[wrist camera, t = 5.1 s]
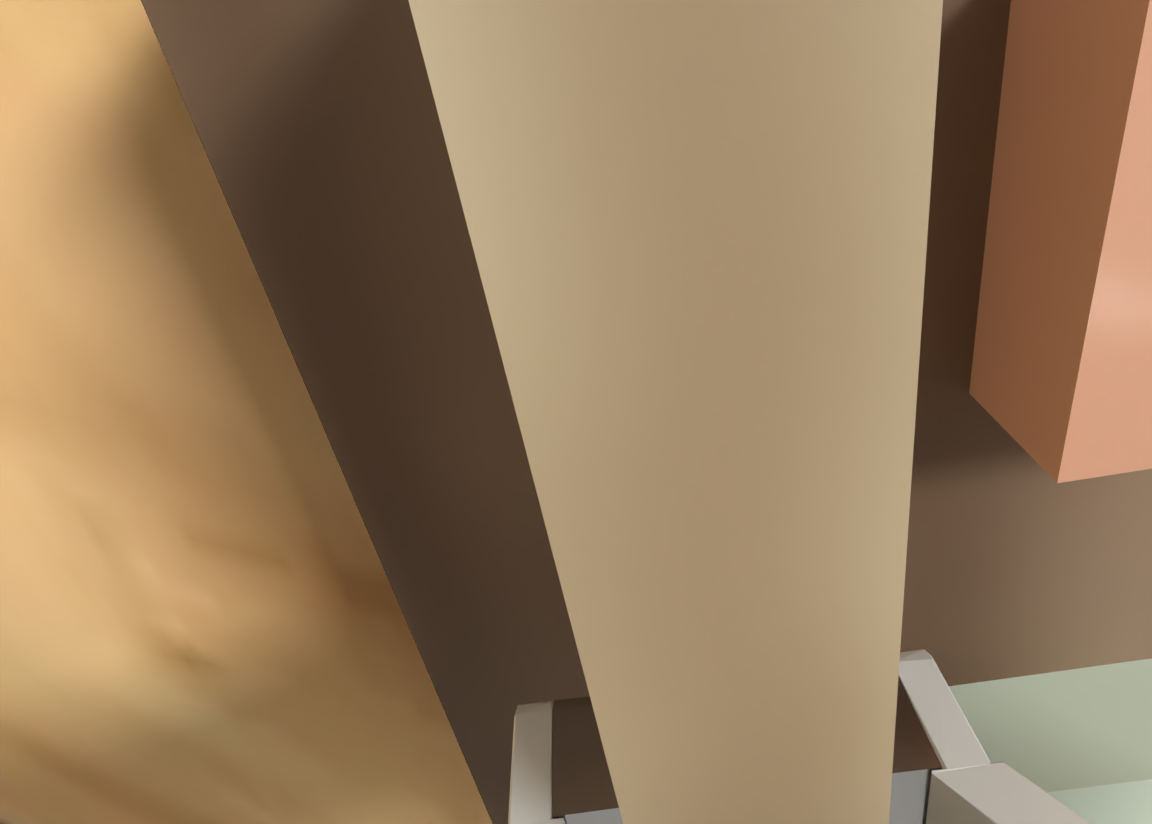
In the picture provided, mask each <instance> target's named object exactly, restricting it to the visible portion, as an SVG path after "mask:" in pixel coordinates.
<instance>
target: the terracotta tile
mask: <svg viewBox="0 0 1152 824" xmlns="http://www.w3.org/2000/svg"><path fill="white" fill-rule="evenodd" d="M969 394H970V395H971V396H972V397H973V398H974V399H975V400H976V401H977V402H978V403H979V404H980V405H981V406H982V407H983V408H984V409H985V410H986V411H987V412H988V413H989V414H990V415H991V416H992V417H993V418H994V419H995V420H996V421H997V422H998V423H999V424H1000V425H1001V426H1002V427H1003V428H1004V429H1005V430H1006V431H1007V432H1008V433H1009V434H1010V436H1011V437H1012V438H1013V439H1014V440H1015V441H1016V442H1017V443H1018V444H1019V445H1020V446H1021V447H1022V448H1023V449H1024V450H1025V451H1026V452H1027V453H1028V454H1029V455H1030V456H1031V457H1032V458H1033V459H1034V460H1035V461H1036V462H1037V463H1038V464H1039V465H1040V466H1041V467H1042V468H1043V469H1044V470H1045V471H1046V472H1047V473H1048V474H1049V475H1050V476H1051V477H1052V479H1053V480H1054V481H1055V482H1056V483H1062V482H1069V481H1075V480H1082V479H1088V478H1095V477H1101V476H1107V475H1114V474H1120V473H1127V472H1133V471H1140V470H1146V469H1152V0H1011V4H1010V14H1009V23H1008V33H1007V42H1006V51H1005V61H1004V70H1003V80H1002V89H1001V98H1000V108H999V117H998V127H997V136H996V146H995V155H994V164H993V174H992V183H991V193H990V202H989V211H988V221H987V230H986V240H985V249H984V258H983V268H982V277H981V287H980V296H979V306H978V315H977V324H976V334H975V343H974V353H973V362H972V371H971V381H970V390H969Z"/></svg>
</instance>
